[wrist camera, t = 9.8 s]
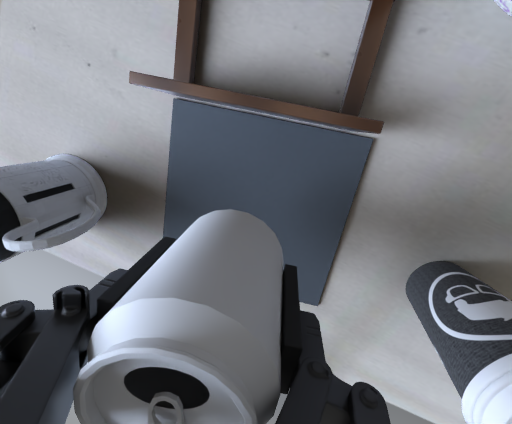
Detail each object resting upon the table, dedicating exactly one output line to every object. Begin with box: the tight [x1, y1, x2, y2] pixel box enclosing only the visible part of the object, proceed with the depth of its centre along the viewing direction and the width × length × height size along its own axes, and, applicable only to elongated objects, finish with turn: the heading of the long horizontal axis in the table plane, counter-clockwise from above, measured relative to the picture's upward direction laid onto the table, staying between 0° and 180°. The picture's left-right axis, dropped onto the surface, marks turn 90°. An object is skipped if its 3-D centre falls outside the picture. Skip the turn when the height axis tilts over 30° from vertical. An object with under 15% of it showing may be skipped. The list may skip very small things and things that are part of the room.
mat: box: [163, 98, 373, 306], centre depth 29 cm, size 20×20×1 cm
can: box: [73, 209, 284, 424], centre depth 14 cm, size 8×8×12 cm
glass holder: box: [0, 154, 107, 262], centre depth 23 cm, size 9×14×15 cm, turn 89°
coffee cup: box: [406, 261, 512, 424], centre depth 22 cm, size 10×10×15 cm
